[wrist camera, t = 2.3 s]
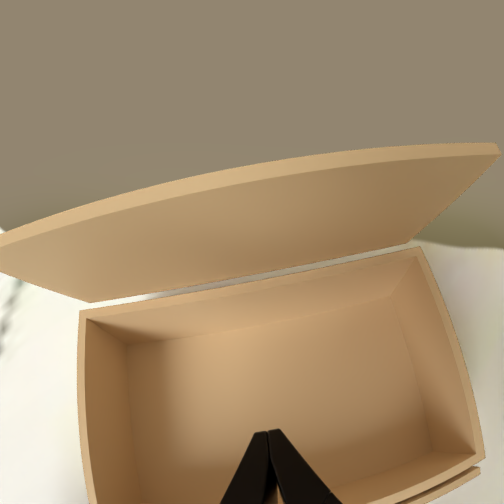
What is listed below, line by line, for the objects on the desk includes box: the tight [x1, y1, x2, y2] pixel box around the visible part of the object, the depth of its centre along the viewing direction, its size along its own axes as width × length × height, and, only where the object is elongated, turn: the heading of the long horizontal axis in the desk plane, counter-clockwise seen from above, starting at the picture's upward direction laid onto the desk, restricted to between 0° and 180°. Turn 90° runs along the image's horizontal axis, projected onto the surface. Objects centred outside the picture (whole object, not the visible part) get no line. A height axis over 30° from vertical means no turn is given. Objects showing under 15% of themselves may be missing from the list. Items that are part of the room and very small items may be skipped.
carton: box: [77, 246, 485, 504], centre depth 16 cm, size 15×22×6 cm
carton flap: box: [0, 143, 501, 303], centre depth 13 cm, size 10×20×1 cm
